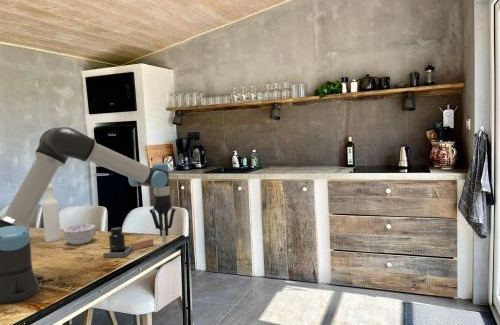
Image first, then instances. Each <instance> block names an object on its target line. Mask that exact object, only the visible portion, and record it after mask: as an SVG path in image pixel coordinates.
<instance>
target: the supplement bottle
mask: <svg viewBox="0 0 500 325" xmlns="http://www.w3.org/2000/svg"><path fill="white" fill-rule="evenodd" d="M125 238H126V237H125V234H124V233H123V228H122V227H118V226H117V227H112V228H110V234H109V237H108V241H109V244H108V245H109V253H118V252H125V251H126V250H125V246H126V241H125V240H126V239H125Z"/></svg>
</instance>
